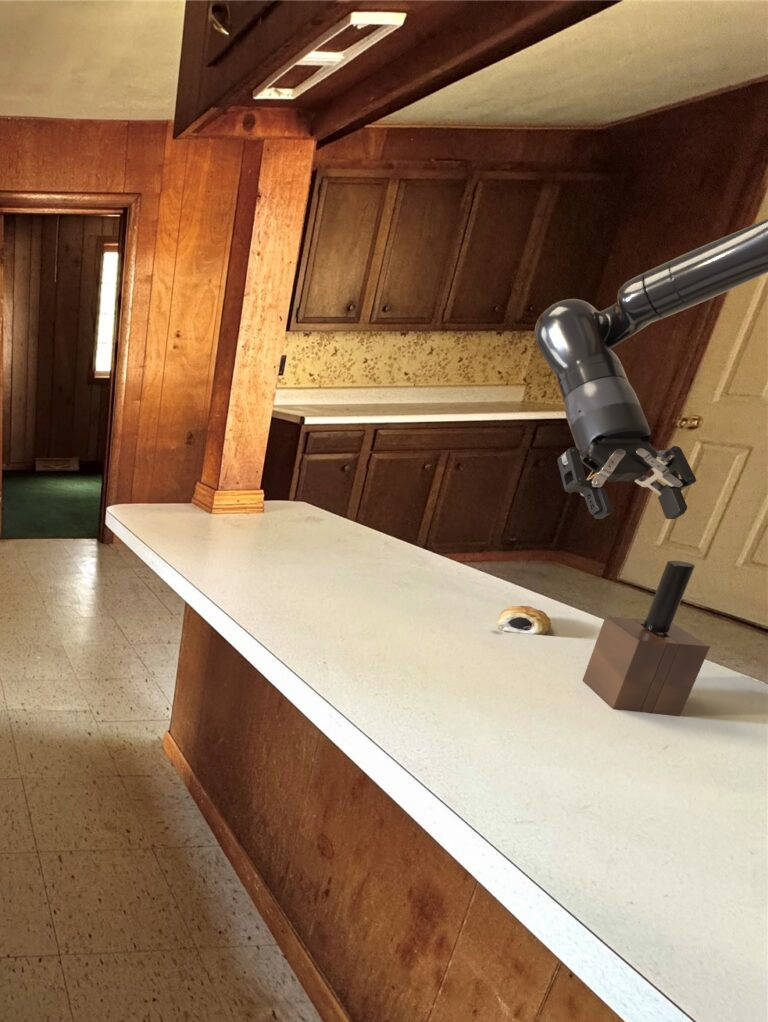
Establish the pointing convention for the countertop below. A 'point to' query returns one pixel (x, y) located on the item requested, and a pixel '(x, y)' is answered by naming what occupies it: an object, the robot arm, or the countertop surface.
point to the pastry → (524, 620)
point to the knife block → (644, 667)
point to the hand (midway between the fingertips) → (640, 516)
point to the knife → (668, 597)
